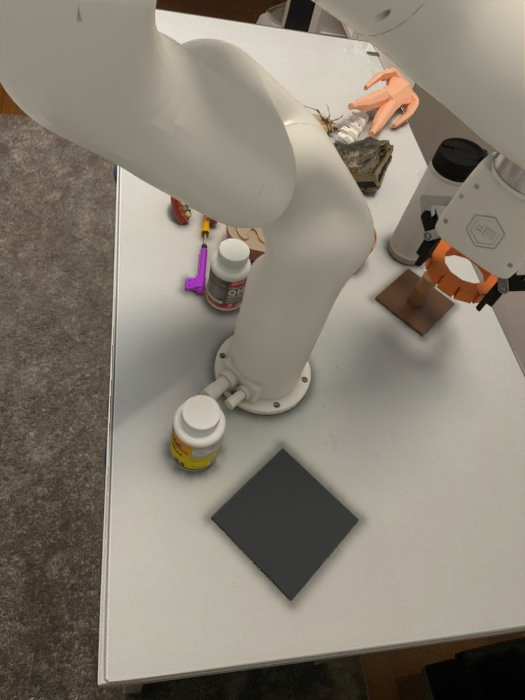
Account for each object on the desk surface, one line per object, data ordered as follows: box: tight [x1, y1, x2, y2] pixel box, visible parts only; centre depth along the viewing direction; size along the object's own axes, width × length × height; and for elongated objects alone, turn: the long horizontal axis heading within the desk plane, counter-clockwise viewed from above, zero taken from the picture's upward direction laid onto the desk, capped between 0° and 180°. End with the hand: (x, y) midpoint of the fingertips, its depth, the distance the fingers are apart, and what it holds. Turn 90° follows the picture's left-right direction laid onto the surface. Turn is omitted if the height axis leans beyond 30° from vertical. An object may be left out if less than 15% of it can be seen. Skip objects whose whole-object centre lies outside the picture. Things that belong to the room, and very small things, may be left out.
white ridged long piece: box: [336, 109, 370, 145], centre depth 105 cm, size 12×4×2 cm, turn 156°
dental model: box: [170, 196, 218, 225], centre depth 84 cm, size 6×4×8 cm
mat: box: [211, 447, 360, 601], centre depth 62 cm, size 12×12×1 cm
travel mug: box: [387, 137, 489, 266], centre depth 82 cm, size 6×7×20 cm
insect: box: [302, 103, 344, 138], centre depth 104 cm, size 9×10×2 cm
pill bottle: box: [205, 238, 252, 312], centre depth 74 cm, size 5×5×10 cm
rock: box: [337, 135, 395, 193], centre depth 96 cm, size 9×9×6 cm
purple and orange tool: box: [185, 215, 211, 295], centre depth 81 cm, size 3×1×16 cm
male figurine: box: [347, 67, 420, 138], centre depth 108 cm, size 11×5×25 cm
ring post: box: [374, 268, 455, 337], centre depth 82 cm, size 9×9×6 cm
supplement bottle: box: [170, 394, 227, 472], centre depth 61 cm, size 6×6×10 cm
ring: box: [425, 239, 497, 305], centre depth 70 cm, size 10×10×2 cm
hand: (451, 281), depth 68 cm, fingers closed on ring, 8 cm apart
